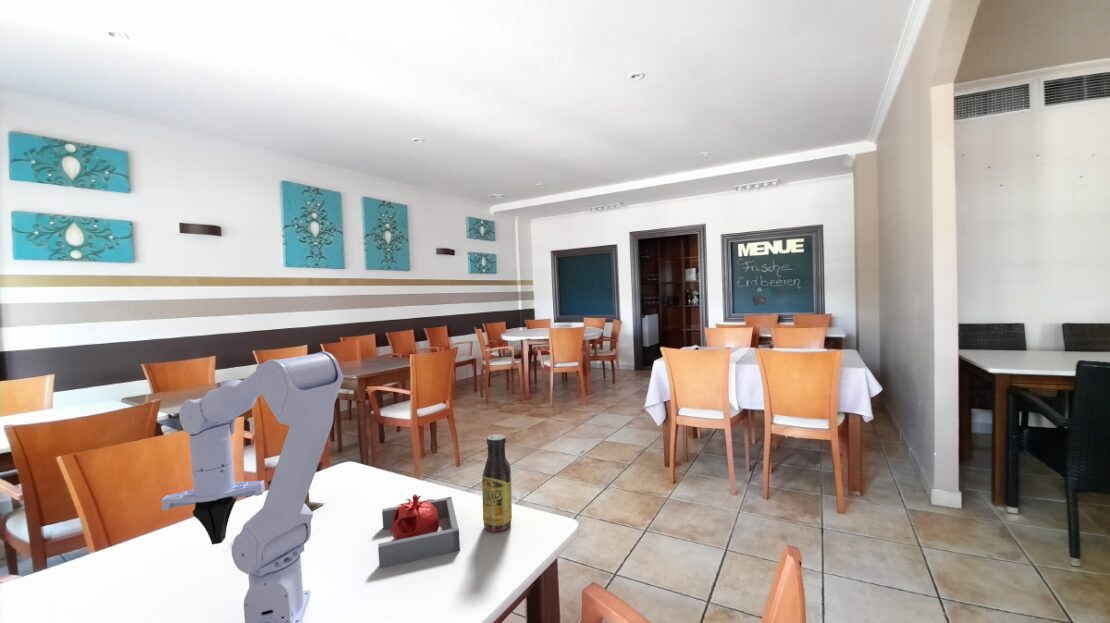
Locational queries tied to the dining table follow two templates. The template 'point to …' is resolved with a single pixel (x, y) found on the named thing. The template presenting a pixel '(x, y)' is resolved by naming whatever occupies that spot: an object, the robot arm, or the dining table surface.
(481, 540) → the dining table surface
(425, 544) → the tray
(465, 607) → the dining table surface
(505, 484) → the sauce bottle
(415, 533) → the pomegranate
